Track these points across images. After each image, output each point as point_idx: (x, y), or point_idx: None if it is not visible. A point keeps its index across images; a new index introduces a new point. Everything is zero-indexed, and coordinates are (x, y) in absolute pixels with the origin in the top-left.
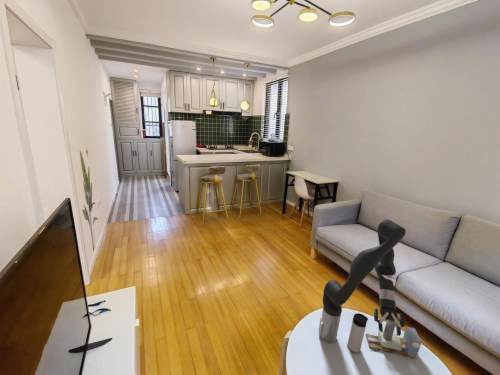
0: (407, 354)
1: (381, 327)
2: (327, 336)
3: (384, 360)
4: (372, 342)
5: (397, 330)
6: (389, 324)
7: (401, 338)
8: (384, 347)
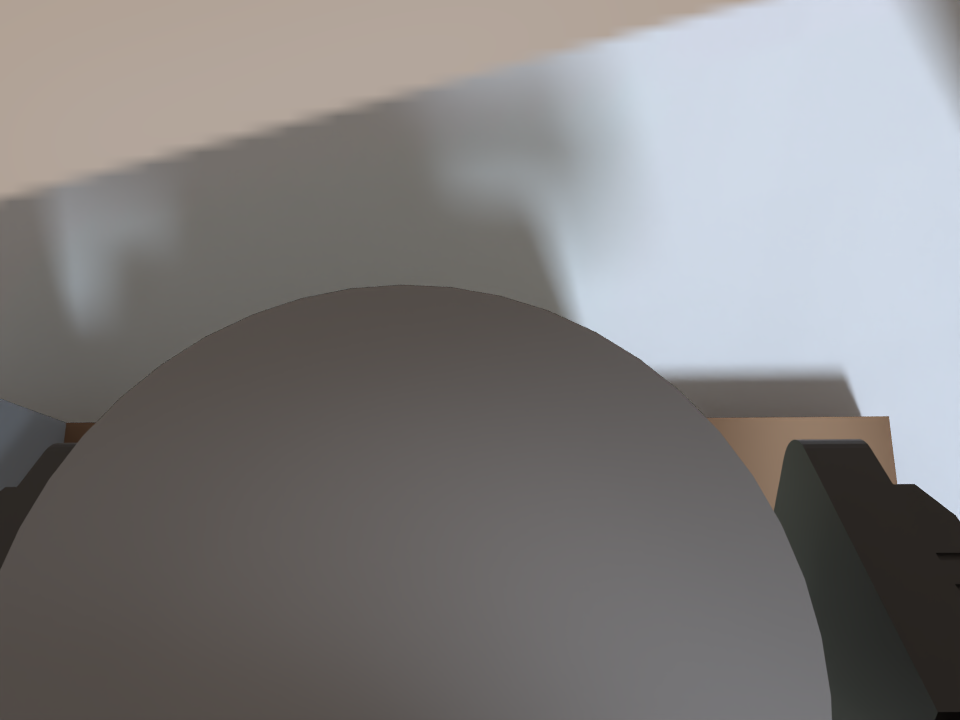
0: (64, 442)
1: (915, 549)
2: None
3: (602, 223)
4: None
5: None
6: (640, 387)
7: None
8: None
